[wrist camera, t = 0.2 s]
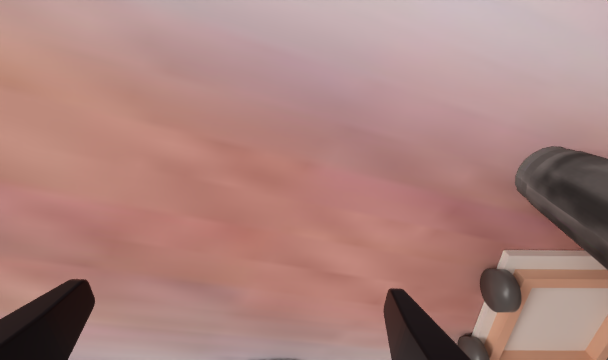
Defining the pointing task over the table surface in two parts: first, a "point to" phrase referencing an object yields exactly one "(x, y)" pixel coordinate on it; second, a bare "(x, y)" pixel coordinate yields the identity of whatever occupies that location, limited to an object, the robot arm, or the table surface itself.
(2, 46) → the table surface
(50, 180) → the table surface
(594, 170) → the beverage cup
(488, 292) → the chassis
